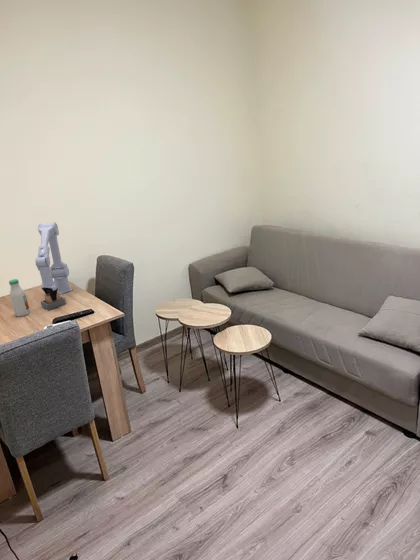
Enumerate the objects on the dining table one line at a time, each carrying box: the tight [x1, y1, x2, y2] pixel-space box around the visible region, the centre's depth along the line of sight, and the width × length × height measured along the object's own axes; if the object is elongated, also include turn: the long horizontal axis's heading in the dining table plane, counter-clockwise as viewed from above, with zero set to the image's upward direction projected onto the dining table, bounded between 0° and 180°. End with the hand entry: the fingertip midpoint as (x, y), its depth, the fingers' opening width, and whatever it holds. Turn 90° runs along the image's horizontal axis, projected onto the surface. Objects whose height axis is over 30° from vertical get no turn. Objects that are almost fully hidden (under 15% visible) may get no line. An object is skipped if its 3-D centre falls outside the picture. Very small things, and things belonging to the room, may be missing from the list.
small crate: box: [43, 292, 62, 304], centre depth 229 cm, size 5×7×5 cm
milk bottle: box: [8, 278, 31, 317], centre depth 220 cm, size 8×8×20 cm
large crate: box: [40, 295, 67, 311], centre depth 230 cm, size 9×11×4 cm
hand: (52, 299), depth 229 cm, fingers closed on small crate, 5 cm apart
